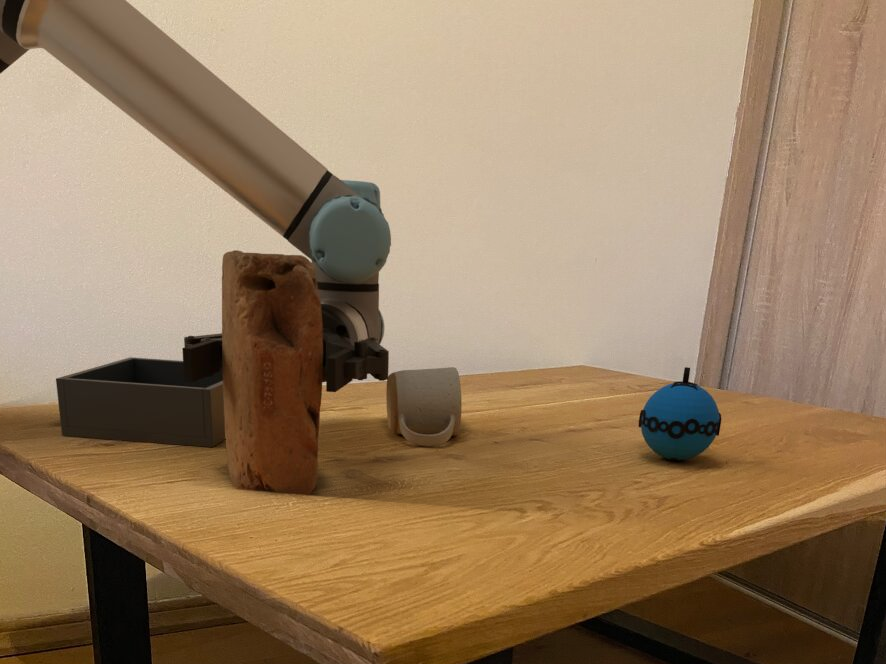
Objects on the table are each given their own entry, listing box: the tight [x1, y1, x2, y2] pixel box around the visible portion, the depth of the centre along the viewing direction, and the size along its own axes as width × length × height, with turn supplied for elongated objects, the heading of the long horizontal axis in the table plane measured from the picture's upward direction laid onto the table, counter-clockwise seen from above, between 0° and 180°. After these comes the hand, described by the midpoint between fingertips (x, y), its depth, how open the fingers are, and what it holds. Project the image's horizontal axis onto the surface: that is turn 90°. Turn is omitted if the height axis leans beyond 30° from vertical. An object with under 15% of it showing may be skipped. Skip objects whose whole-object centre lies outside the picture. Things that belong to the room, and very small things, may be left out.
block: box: [221, 249, 323, 496], centre depth 80 cm, size 11×8×20 cm
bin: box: [55, 356, 226, 448], centre depth 105 cm, size 17×18×6 cm
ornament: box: [638, 366, 722, 462], centre depth 100 cm, size 9×9×10 cm
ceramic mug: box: [385, 366, 463, 447], centre depth 105 cm, size 11×8×8 cm
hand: (258, 370), depth 76 cm, fingers open, 11 cm apart
